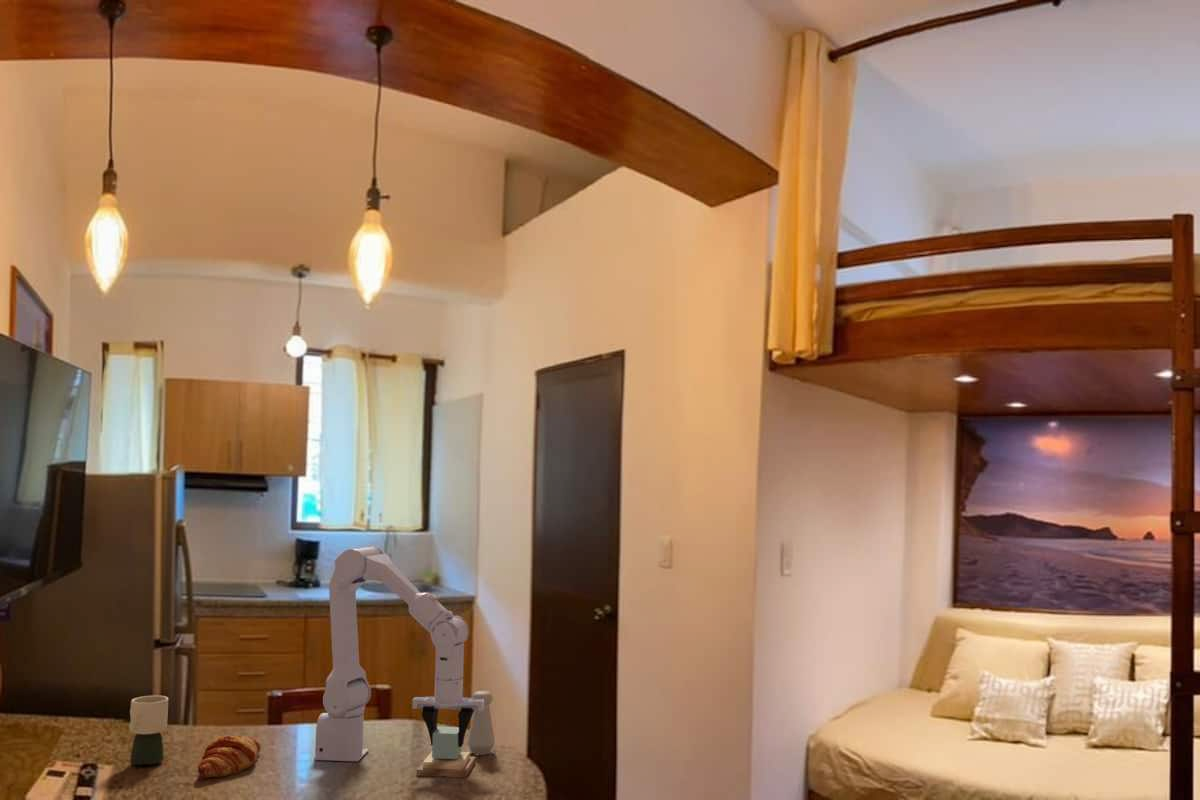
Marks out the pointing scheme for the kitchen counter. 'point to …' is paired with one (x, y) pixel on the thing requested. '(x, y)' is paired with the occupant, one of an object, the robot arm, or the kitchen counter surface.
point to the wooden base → (446, 766)
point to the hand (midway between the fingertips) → (447, 745)
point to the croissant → (229, 756)
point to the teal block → (446, 743)
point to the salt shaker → (481, 727)
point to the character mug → (148, 728)
